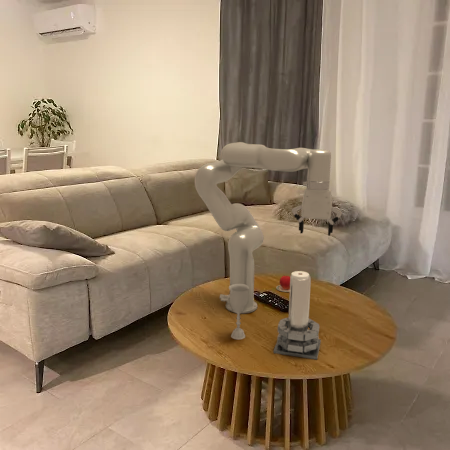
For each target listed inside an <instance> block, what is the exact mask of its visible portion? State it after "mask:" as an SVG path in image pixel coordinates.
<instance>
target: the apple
mask: <svg viewBox="0 0 450 450" xmlns="http://www.w3.org/2000/svg"><path fill="white" fill-rule="evenodd" d="M275 287H276V290H277V291H280V292H284V293H290V276H289V275H285V274H283V275H282V276H281V277H280V278H279V285H277V286H275Z"/></svg>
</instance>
